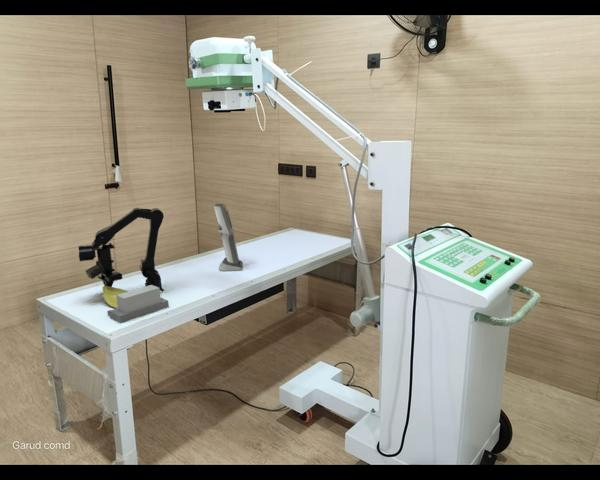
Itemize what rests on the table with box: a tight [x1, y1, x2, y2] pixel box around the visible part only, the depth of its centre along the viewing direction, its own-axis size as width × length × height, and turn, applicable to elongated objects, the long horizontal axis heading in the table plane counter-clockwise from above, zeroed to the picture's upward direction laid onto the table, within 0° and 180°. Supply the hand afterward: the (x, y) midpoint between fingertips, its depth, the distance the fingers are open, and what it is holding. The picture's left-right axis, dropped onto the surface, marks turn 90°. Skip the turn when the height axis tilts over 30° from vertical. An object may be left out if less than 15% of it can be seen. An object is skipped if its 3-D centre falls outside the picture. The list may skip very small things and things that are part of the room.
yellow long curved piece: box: [102, 285, 129, 309], centre depth 211 cm, size 20×7×10 cm
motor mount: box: [106, 285, 170, 324], centre depth 200 cm, size 22×12×9 cm, turn 137°
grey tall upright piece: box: [213, 203, 244, 272], centre depth 255 cm, size 12×13×35 cm
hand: (108, 291), depth 218 cm, fingers closed
